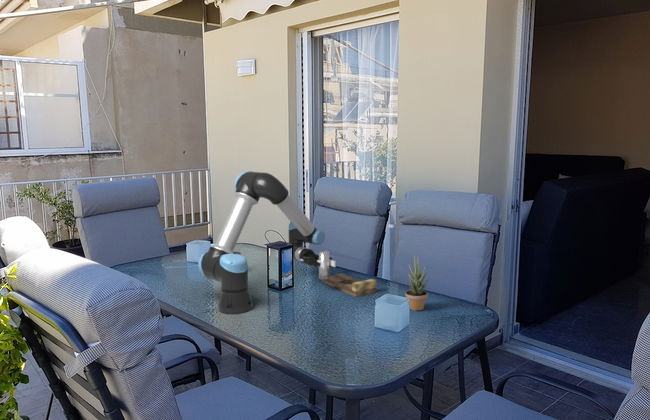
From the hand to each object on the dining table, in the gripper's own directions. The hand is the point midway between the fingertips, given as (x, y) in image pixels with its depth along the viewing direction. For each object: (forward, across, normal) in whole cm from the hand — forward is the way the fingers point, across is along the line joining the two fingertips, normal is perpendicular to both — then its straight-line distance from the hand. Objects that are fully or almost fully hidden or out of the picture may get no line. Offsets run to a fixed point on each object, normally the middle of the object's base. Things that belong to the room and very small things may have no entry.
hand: (330, 265), depth 244 cm
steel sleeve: (-5, 0, -8) cm, 9 cm away
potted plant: (+38, -20, -14) cm, 45 cm away
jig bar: (-5, -14, -14) cm, 21 cm away
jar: (-57, +25, -15) cm, 64 cm away
